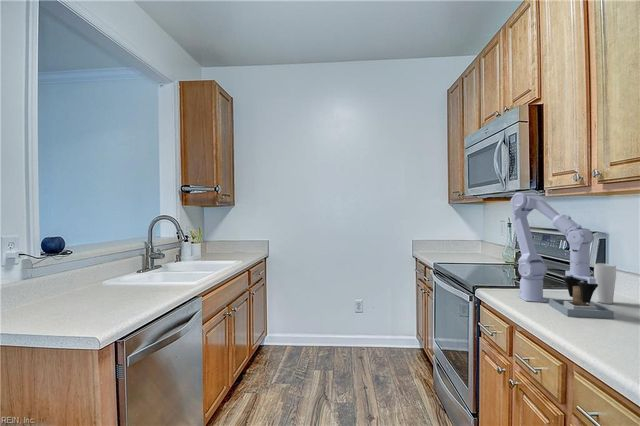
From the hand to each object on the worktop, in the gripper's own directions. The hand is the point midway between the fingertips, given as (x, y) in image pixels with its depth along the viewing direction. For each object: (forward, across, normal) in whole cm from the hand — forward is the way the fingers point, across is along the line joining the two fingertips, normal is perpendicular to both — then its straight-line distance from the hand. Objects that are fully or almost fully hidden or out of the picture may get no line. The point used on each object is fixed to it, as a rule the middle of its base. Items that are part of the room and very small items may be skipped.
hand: (579, 299), depth 127 cm
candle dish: (+4, 0, 0) cm, 4 cm away
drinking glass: (+5, -14, +17) cm, 22 cm away
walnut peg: (+4, 0, 0) cm, 4 cm away
